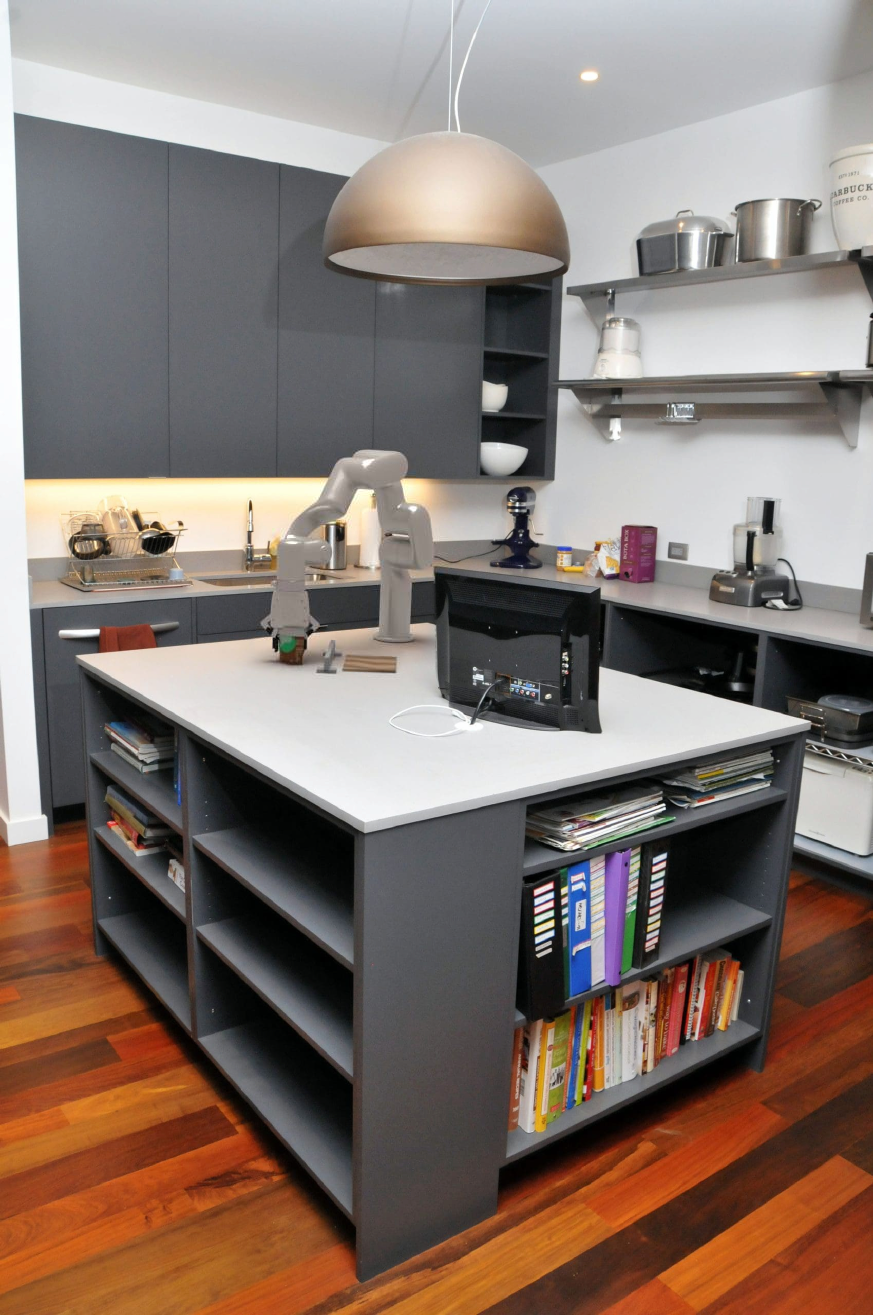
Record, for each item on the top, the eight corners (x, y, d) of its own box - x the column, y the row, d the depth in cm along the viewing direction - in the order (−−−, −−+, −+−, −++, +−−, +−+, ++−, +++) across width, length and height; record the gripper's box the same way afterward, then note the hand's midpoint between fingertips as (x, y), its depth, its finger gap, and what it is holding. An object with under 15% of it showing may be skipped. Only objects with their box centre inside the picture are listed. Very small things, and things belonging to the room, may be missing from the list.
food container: (270, 656, 275) (271, 621, 273) (292, 656, 278) (293, 620, 276) (281, 666, 264) (282, 629, 262) (304, 665, 266) (304, 628, 264)
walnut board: (346, 656, 280) (346, 654, 280) (396, 658, 281) (396, 656, 281) (342, 670, 263) (342, 668, 263) (395, 673, 263) (395, 670, 263)
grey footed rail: (323, 653, 283) (324, 639, 282) (341, 654, 283) (342, 640, 282) (316, 672, 259) (316, 657, 259) (335, 673, 260) (336, 658, 259)
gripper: (256, 586, 263) (255, 653, 266) (322, 589, 263) (320, 656, 267) (259, 582, 270) (259, 648, 274) (324, 585, 271) (322, 650, 274)
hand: (289, 651), depth 270 cm, fingers closed on food container, 6 cm apart
